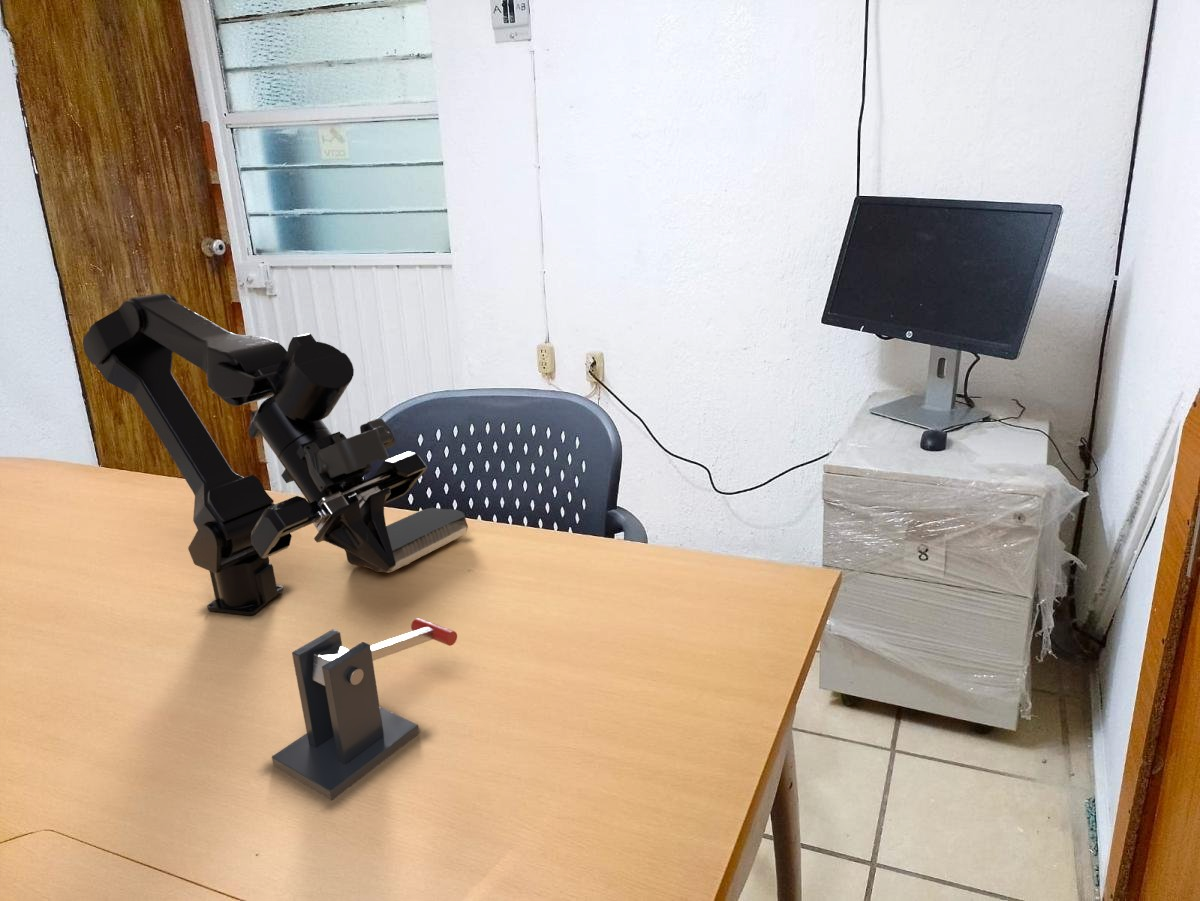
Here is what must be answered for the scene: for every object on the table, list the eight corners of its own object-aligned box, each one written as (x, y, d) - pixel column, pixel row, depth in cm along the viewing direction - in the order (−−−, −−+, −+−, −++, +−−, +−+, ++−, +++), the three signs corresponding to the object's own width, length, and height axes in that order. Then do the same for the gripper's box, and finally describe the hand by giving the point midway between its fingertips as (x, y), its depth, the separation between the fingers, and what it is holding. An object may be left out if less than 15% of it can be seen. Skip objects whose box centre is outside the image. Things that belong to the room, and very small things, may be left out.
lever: (420, 634, 84) (422, 611, 84) (456, 648, 81) (458, 625, 81) (301, 675, 72) (302, 649, 72) (339, 693, 70) (340, 666, 69)
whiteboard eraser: (383, 584, 104) (379, 558, 103) (341, 567, 109) (337, 542, 108) (474, 537, 117) (472, 513, 115) (433, 523, 121) (431, 500, 120)
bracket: (362, 707, 81) (347, 610, 77) (420, 735, 77) (406, 634, 73) (273, 767, 73) (252, 663, 70) (332, 802, 69) (312, 693, 65)
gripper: (247, 426, 73) (347, 570, 70) (405, 378, 87) (492, 495, 85) (212, 491, 80) (302, 624, 77) (364, 436, 94) (443, 547, 92)
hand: (391, 568), depth 83 cm, fingers closed
